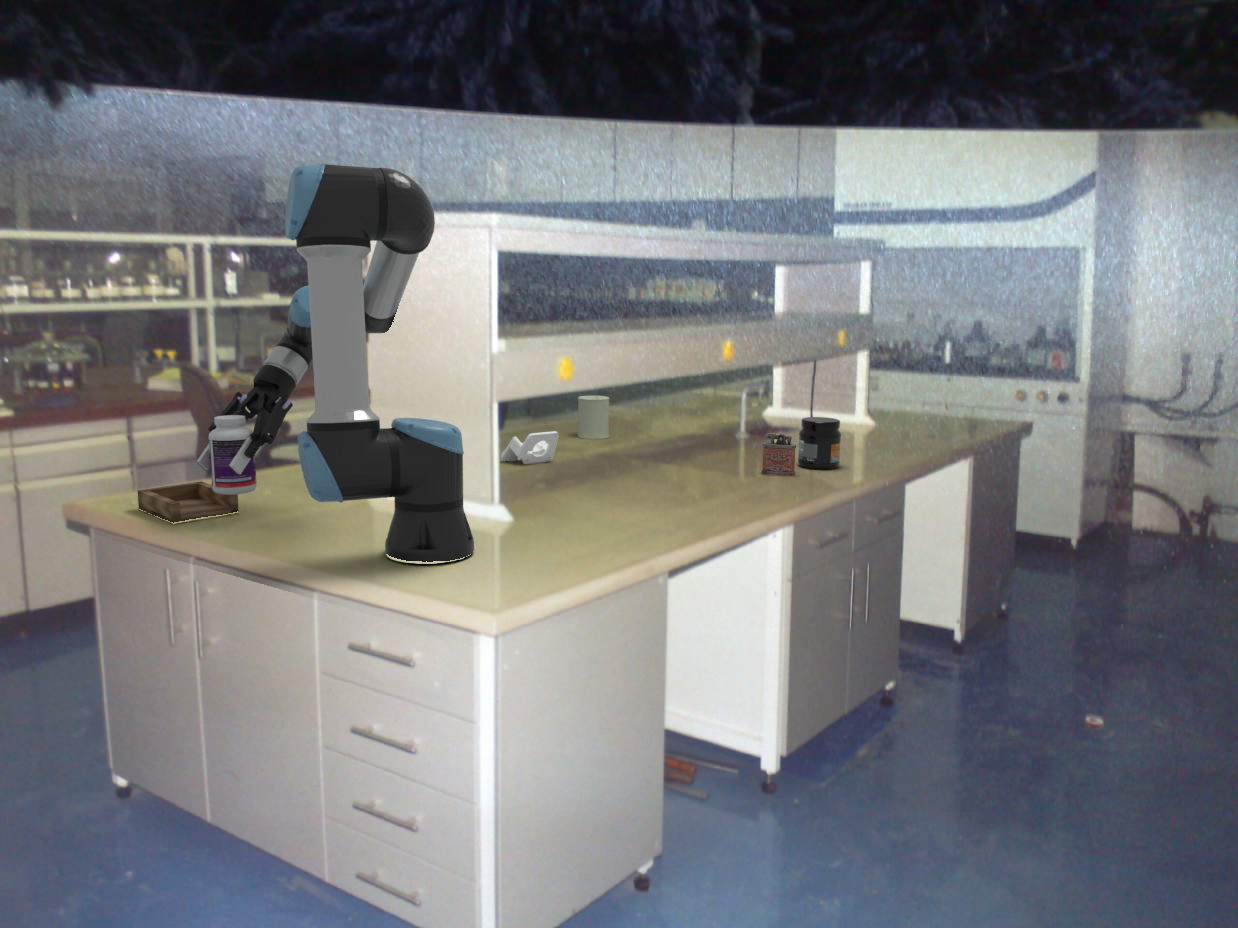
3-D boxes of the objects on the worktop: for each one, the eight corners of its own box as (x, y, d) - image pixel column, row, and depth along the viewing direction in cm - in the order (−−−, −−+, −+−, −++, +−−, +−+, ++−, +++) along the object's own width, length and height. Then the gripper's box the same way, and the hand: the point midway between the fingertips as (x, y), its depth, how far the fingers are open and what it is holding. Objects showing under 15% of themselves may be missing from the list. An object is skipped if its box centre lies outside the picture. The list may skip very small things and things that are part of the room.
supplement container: (846, 466, 265) (849, 419, 262) (826, 472, 257) (829, 424, 254) (810, 460, 271) (812, 415, 269) (789, 466, 263) (791, 419, 261)
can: (585, 440, 297) (586, 398, 295) (572, 435, 306) (572, 394, 303) (614, 438, 302) (615, 397, 299) (600, 433, 310) (600, 393, 307)
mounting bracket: (509, 472, 260) (518, 436, 255) (498, 459, 264) (506, 423, 259) (550, 468, 267) (559, 432, 261) (539, 454, 271) (547, 419, 265)
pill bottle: (265, 491, 199) (261, 416, 196) (225, 498, 193) (220, 421, 190) (243, 485, 204) (239, 413, 202) (204, 491, 198) (199, 416, 196)
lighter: (795, 473, 254) (797, 433, 252) (794, 476, 251) (796, 435, 249) (762, 471, 256) (764, 431, 254) (760, 474, 253) (762, 433, 251)
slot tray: (238, 513, 206) (237, 493, 205) (173, 524, 197) (171, 503, 196) (202, 500, 217) (201, 481, 216) (138, 510, 208) (137, 490, 207)
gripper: (329, 390, 204) (270, 484, 192) (253, 384, 213) (193, 474, 202) (308, 365, 198) (245, 460, 187) (231, 360, 208) (168, 451, 197)
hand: (218, 467), depth 195 cm, fingers closed on pill bottle, 8 cm apart
